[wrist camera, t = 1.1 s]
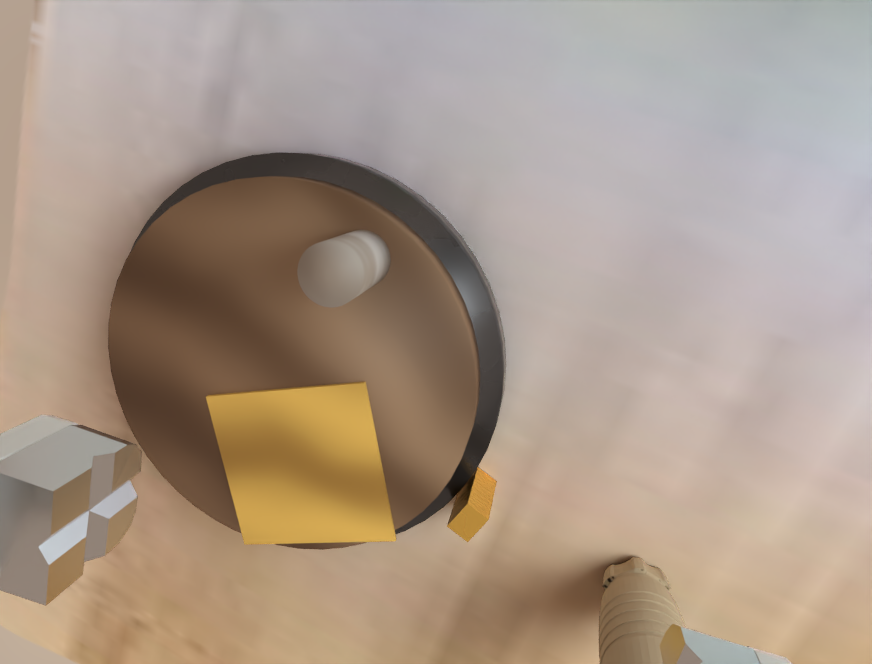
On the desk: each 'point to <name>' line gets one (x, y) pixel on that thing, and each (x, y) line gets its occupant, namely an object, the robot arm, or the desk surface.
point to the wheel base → (462, 267)
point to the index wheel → (294, 361)
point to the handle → (635, 613)
